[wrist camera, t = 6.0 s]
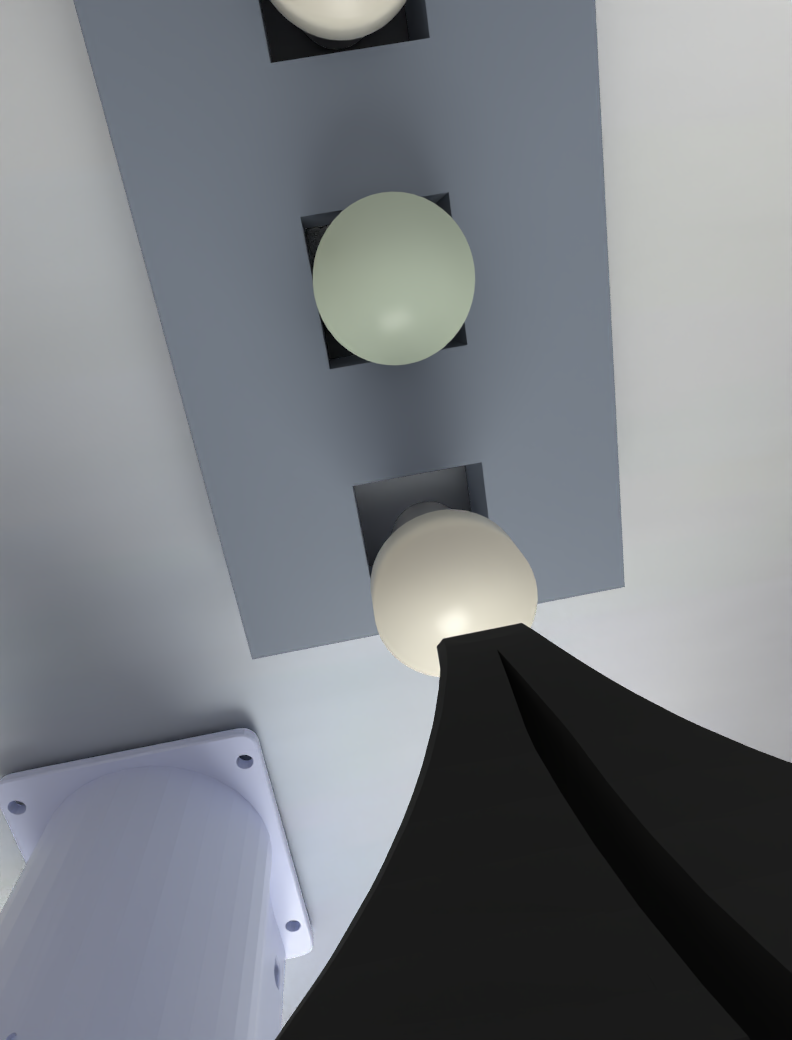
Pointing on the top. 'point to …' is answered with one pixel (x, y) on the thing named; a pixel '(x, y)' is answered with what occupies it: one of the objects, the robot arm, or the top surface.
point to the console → (290, 296)
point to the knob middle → (393, 278)
